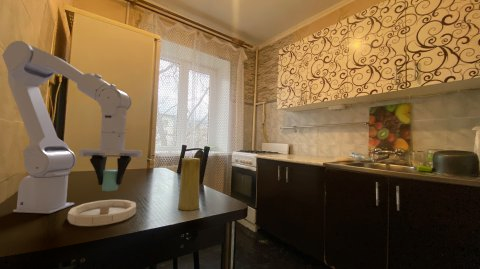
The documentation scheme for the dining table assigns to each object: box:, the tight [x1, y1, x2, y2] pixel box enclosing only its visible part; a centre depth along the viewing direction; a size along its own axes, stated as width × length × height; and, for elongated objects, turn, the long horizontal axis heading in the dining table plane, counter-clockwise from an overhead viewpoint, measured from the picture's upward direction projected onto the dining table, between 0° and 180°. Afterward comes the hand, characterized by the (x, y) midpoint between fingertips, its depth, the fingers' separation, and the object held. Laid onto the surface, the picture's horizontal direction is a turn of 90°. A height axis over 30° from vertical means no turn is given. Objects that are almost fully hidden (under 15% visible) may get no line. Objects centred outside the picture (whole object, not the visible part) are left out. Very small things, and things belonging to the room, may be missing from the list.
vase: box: [177, 157, 201, 212], centre depth 62 cm, size 6×6×14 cm
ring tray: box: [67, 199, 137, 227], centre depth 53 cm, size 14×14×2 cm
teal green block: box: [101, 169, 119, 192], centre depth 57 cm, size 4×4×5 cm
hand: (110, 184), depth 57 cm, fingers closed on teal green block, 4 cm apart
